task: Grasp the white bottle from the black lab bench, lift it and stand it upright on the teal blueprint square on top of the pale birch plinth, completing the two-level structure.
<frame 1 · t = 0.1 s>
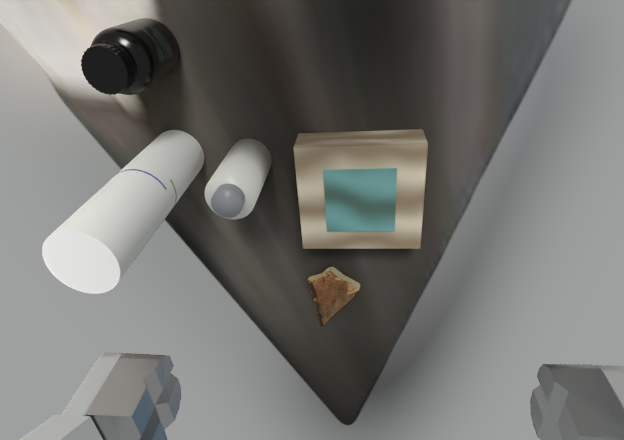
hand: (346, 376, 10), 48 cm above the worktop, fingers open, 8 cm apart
birch plinth: (360, 183, 60), on the worktop
cylindrical container: (179, 153, 61), on the worktop
supplement bottle: (153, 47, 54), on the worktop
white bottle: (250, 159, 60), on the worktop
shard: (337, 290, 72), on the worktop
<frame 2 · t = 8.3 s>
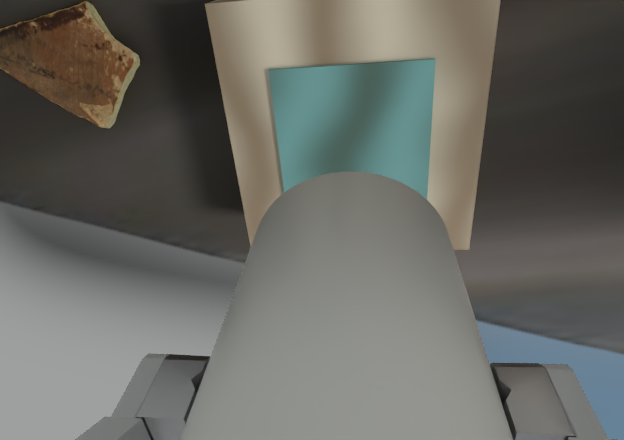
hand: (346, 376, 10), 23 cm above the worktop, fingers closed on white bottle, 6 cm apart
birch plinth: (354, 115, 30), on the worktop
white bottle: (350, 260, 13), point 19 cm above the worktop, touching gripper
shard: (74, 73, 32), on the worktop
when the fingers open (11 cm above the worktop, at t = 11.7 s): white bottle drops 1 cm, resting on birch plinth.
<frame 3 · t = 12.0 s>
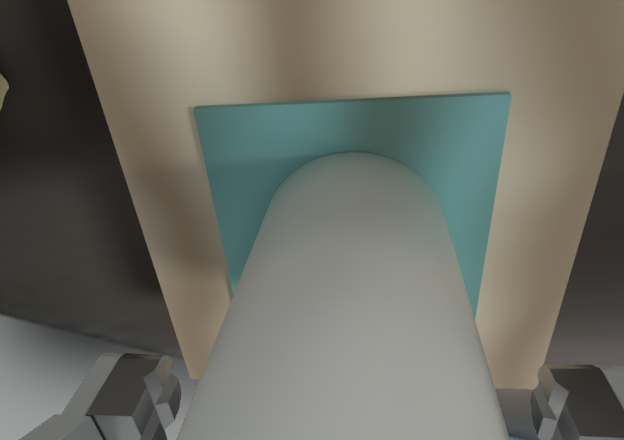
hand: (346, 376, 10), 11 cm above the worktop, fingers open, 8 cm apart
birch plinth: (352, 168, 19), on the worktop
white bottle: (353, 235, 15), point 5 cm above the worktop, touching birch plinth
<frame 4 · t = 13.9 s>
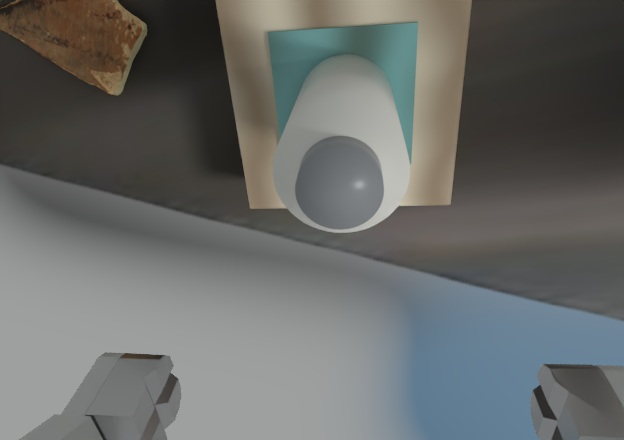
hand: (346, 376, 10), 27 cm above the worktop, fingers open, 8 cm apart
birch plinth: (345, 81, 33), on the worktop
white bottle: (345, 102, 28), point 5 cm above the worktop, touching birch plinth
shard: (85, 43, 34), on the worktop
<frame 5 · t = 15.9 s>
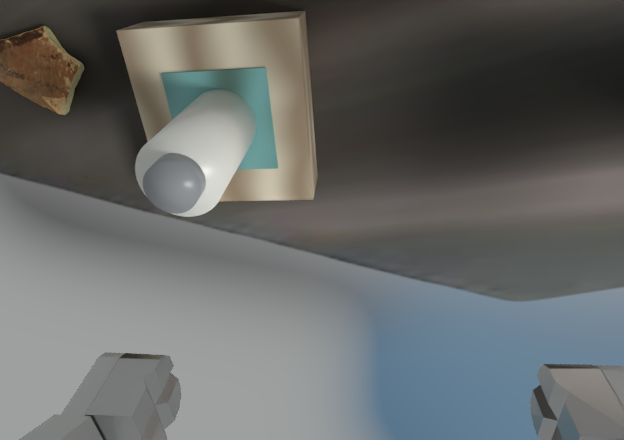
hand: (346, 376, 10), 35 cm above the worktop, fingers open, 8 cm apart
birch plinth: (236, 105, 43), on the worktop
white bottle: (223, 123, 39), point 5 cm above the worktop, touching birch plinth
shard: (39, 75, 44), on the worktop
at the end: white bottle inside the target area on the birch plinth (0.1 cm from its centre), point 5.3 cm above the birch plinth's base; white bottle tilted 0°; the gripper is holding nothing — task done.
